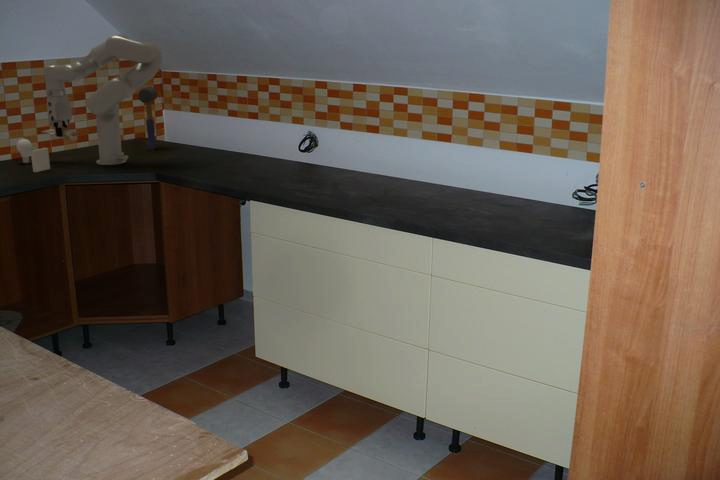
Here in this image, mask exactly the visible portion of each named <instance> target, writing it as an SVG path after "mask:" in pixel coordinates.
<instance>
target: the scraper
mask: <svg viewBox="0 0 720 480" xmlns="http://www.w3.org/2000/svg"><path fill="white" fill-rule="evenodd" d="M60 128H62V134H63V137H60V138H61V139H65V140H68V141H70V142H74V141H77V140H78V130H75V129H72V128H69V127H68V128H65V127H63V126H62V125H60ZM41 133H42V134H45V135H48V136H51V137H53V136H54V137H57V136H56V130H55V129H47V130H42V131H41Z"/></svg>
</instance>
